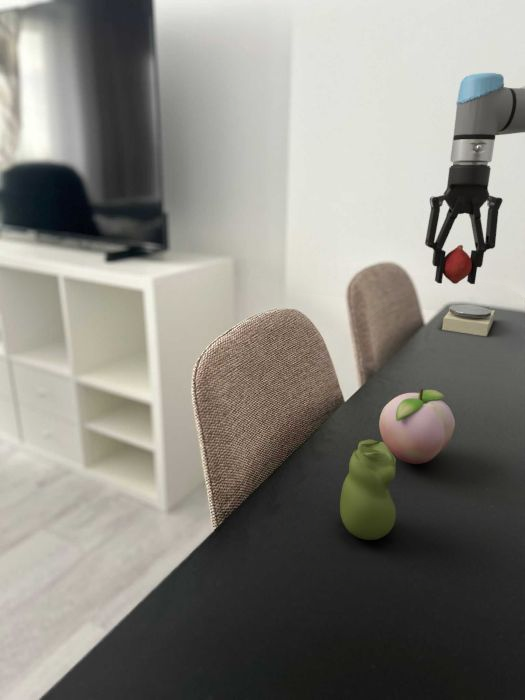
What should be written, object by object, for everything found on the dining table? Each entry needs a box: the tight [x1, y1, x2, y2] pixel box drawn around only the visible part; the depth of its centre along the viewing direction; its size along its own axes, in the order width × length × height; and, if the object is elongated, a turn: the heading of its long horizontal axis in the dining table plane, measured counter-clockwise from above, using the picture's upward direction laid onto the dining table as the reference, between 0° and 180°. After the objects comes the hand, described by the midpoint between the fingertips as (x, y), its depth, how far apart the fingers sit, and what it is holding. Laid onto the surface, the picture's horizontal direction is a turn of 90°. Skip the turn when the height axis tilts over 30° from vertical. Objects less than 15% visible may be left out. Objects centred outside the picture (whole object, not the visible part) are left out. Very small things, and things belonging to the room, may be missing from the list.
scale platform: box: [448, 303, 492, 318], centre depth 120 cm, size 9×9×1 cm
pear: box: [339, 438, 397, 541], centre depth 49 cm, size 6×5×10 cm
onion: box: [443, 244, 472, 285], centre depth 106 cm, size 6×6×8 cm
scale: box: [441, 303, 496, 337], centre depth 122 cm, size 14×10×4 cm
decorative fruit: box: [378, 388, 456, 465], centre depth 62 cm, size 9×8×10 cm
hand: (454, 282), depth 107 cm, fingers closed on onion, 6 cm apart
